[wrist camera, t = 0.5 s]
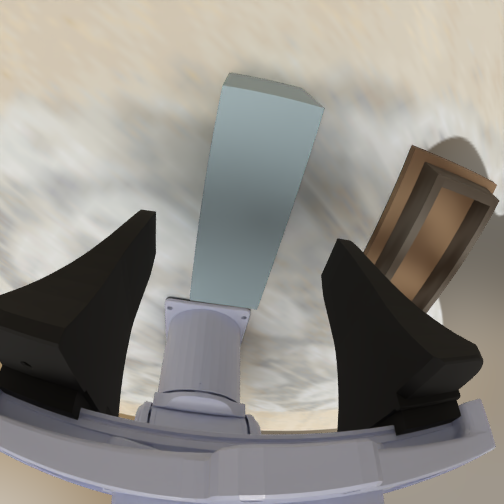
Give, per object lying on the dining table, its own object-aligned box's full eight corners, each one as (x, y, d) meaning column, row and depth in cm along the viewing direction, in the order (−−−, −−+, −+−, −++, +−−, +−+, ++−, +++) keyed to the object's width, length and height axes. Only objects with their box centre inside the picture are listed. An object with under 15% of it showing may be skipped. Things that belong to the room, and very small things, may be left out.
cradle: (407, 318, 31) (414, 337, 29) (330, 314, 29) (334, 335, 27) (493, 181, 20) (509, 197, 18) (412, 145, 18) (429, 159, 16)
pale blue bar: (254, 251, 24) (257, 309, 20) (199, 242, 24) (189, 299, 19) (301, 87, 16) (324, 108, 12) (229, 72, 16) (222, 85, 11)
